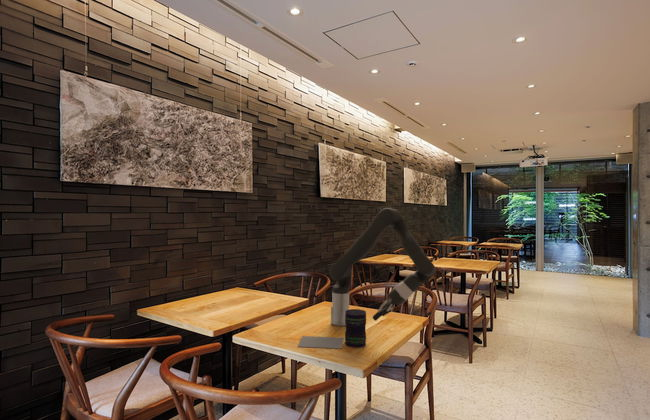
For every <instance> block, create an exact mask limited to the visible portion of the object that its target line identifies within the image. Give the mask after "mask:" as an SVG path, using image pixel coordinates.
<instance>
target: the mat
mask: <svg viewBox="0 0 650 420" xmlns="http://www.w3.org/2000/svg"><path fill="white" fill-rule="evenodd" d="M343 343H344V337H339V336H338V337H337V336H336V337H335V336H310V335H308V336H307V335H302V336H301V338H300V339H299V342H298V345H297V348H309V349H310V348H311V349H331V350H332V349H335V350H337V349H338V350H342V349H343Z"/></svg>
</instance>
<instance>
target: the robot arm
mask: <svg viewBox="0 0 650 420" xmlns="http://www.w3.org/2000/svg"><path fill="white" fill-rule="evenodd" d="M386 228H392V229H393V230H394V231H395V232H396V234H397V235H398V237H399V240H400V243H401V245H402V248H403V250H404V251H405V253H406V254H407V256H408V257H409V259H410V260H411V261H412V262H413V264H414V266H415V267H416V271H415V272H414V273H410V274H409V275H407V276H406V277H405V278H404V279H403V280H401V282H399V283H398V284H397V285H396V286H395V287H394V288H392V289H391V291H390V292H388V297H389V298H388V299H386V300H384V301H383V302H382V304H381V305H380V307H378V310H377V312H376V313H375V314H373V315H372V319H373V321H376V322H377V321H378V320H379V319H380V318H381V317H384V316H386V315H388V314H389V313H391V312H392V310H393V309H394V308H395V306H396V305H397V306H398V307H400V306H402V305H403V304H404V303H406V301H407V300H409V298H410V297H412V295H413V294H414V293H415V292H416V291H417V290H418V289H419V288H420V287H421V286H422V285H423V284H426V283H427V282H428V281H430V280H431V279H432V278H433V277H434V276H435V274H436V272H437V267H436V266H435V264H434V263H433V262H432V261H431V260H430V259H429V257H428V256H427V254H426V253H425V251H424V250H423V248H422V246H420V244H419V243H418V241H417V240H416V239H415V238H414V236H413V235H412V233H411V231H410V230H409V227H408V226H407V224H406V222H405V220H404V218H403V216H402V214H401V212H400V211H399V210H397V209H395V208H391V207H385V208H382V209H381V210H380V211H379V212H378V213H377V214H376V215H375V217H374V219H373V220H372V221H371V223H370V225H368V227H367V228H366V229H365V230H364V231H363V232H362V233H361V235H359V237H358V238H357V239H356V240H355V241H354V242H353V244H352V245H351V246H350V247H349V248H348V249H347V250H346V251H345V253H344V254H343V255H342V256H341V257H340V258H339V259H338V260H337V261H336V262H335V263H334V264H332V265H331V266H330V268H329V277H330V278H331V279H332V281H333V280H334V281H336V282H335V284H333V286H332V287H331V288H332V290H331V291H332V292H331V294H332V298H331V299H332V301H331V304H332V305H331V306H330V324H331V325H334V326H337V327H338V326H339V327H342V326H343V327H346V324H345V311H346V310H350V288H351V285H352V268H351V267H352V266H353V265H355V264H356V263H359V262H360V261H361V260H363V259H364V258H365V257H366V256H367V255H368V254H369V253H370V252H371V251H372V250H373V249H374V248H375V246H376V243H377V240H378V237H379V236H380V234H381V233H382V232H383V231H384V230H385V229H386Z"/></svg>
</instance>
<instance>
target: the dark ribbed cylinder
mask: <svg viewBox="0 0 650 420" xmlns="http://www.w3.org/2000/svg"><path fill="white" fill-rule="evenodd" d="M345 324H346V325H345V332H344V345H345V346H346V347H349V348H352V349H361V348H364V347H366V342H367V332H366V326H367V311H366V310H364V309H359V308H357V309H356V308H353V309H352V308H351V309H350V308H349V310H346V311H345Z"/></svg>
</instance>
